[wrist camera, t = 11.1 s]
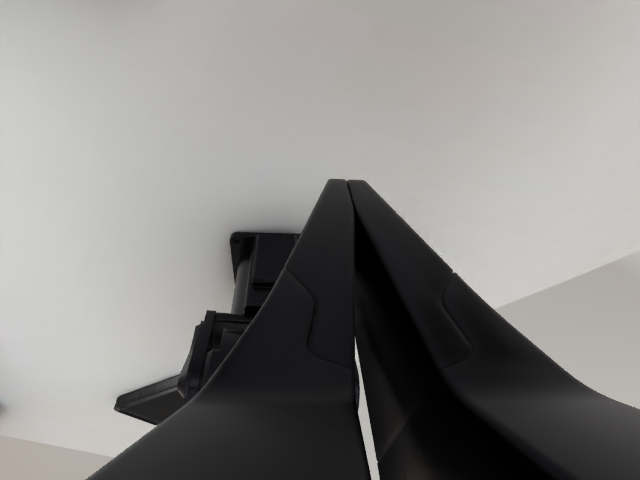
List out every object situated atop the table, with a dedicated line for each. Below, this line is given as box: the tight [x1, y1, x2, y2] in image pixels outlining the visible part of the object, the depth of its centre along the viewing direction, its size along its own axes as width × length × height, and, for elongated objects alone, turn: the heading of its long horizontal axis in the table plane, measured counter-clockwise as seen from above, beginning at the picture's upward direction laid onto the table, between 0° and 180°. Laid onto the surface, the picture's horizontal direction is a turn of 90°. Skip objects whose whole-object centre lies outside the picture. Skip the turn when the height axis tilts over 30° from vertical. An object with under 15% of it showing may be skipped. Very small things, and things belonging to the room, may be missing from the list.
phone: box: [114, 376, 184, 426], centre depth 44 cm, size 8×1×15 cm
